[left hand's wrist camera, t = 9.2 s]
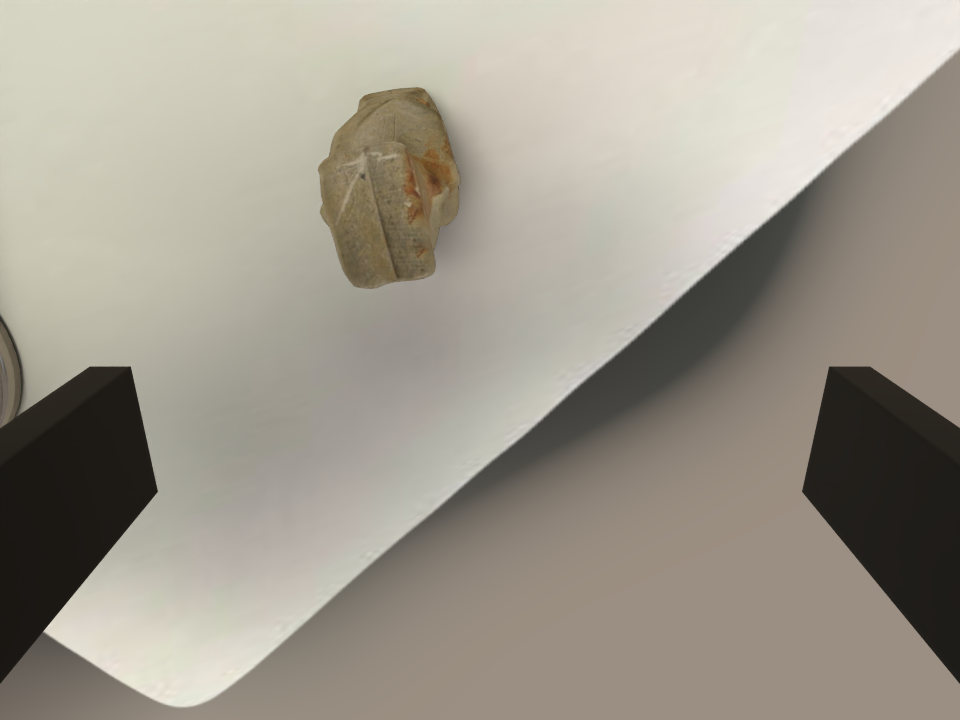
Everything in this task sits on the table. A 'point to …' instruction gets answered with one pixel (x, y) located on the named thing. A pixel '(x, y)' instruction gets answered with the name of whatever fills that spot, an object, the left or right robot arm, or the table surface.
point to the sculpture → (389, 188)
